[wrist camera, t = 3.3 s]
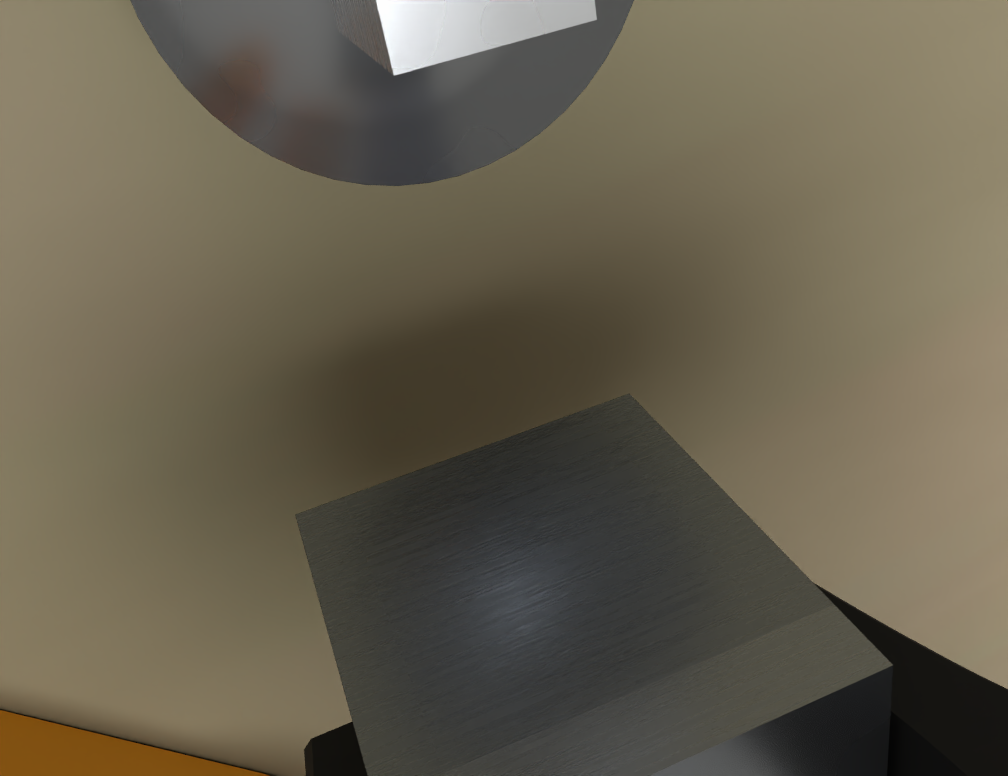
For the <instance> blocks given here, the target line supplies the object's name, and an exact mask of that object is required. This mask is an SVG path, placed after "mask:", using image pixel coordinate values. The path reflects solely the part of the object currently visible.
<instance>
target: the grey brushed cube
mask: <svg viewBox="0 0 1008 776" xmlns="http://www.w3.org/2000/svg"><path fill="white" fill-rule="evenodd" d="M295 516H296V519H297V523H298V526H299V530H300V534H301V537H302V541H303V544H304V548H305V552H306V555H307V559H308V562H309V566H310V570H311V573H312V577H313V580H314V584H315V588H316V591H317V595H318V598H319V602H320V606H321V609H322V613H323V616H324V620H325V624H326V627H327V631H328V634H329V638H330V642H331V645H332V649H333V652H334V656H335V660H336V663H337V667H338V670H339V674H340V678H341V681H342V685H343V688H344V692H345V696H346V699H347V703H348V706H349V710H350V714H351V717H352V721H353V724H354V728H355V732H356V735H357V739H358V743H359V746H360V750H361V753H362V757H363V761H364V764H365V768H366V771H367V775H368V776H887V766H888V748H889V731H890V713H891V695H892V677H893V665H892V663H891V662H890V661H889V660H888V659H887V658H886V657H885V656H884V655H883V654H882V653H881V652H880V651H879V650H878V649H877V648H876V647H875V646H874V645H873V644H872V643H871V642H870V641H869V640H868V639H867V638H866V637H865V636H864V635H863V634H862V633H861V632H860V631H859V630H858V629H857V627H856V626H855V625H854V624H853V623H852V622H851V621H850V620H849V619H848V618H847V617H846V616H845V615H844V614H843V613H842V612H841V611H840V610H839V609H838V608H837V607H836V606H835V605H834V604H833V603H832V602H831V601H830V600H829V599H828V598H827V597H826V596H825V595H824V594H823V592H822V591H821V590H820V589H819V588H818V587H817V586H816V585H815V584H814V583H813V582H812V581H811V580H810V579H809V578H808V577H807V576H806V575H805V574H804V573H803V572H802V571H801V570H800V569H799V568H798V567H797V566H796V565H795V564H794V563H793V562H792V561H791V560H790V559H789V558H788V556H787V555H786V554H785V553H784V552H783V551H782V550H781V549H780V548H779V547H778V546H777V545H776V544H775V543H774V542H773V541H772V540H771V539H770V538H769V537H768V536H767V535H766V534H765V533H764V532H763V531H762V530H761V529H760V528H759V527H758V526H757V525H756V524H755V523H754V522H753V520H752V519H751V518H750V517H749V516H748V515H747V514H746V513H745V512H744V511H743V510H742V509H741V508H740V507H739V506H738V505H737V504H736V503H735V502H734V501H733V500H732V499H731V498H730V497H729V496H728V495H727V494H726V493H725V492H724V491H723V490H722V489H721V488H720V487H719V485H718V484H717V483H716V482H715V481H714V480H713V479H712V478H711V477H710V476H709V475H708V474H707V473H706V472H705V471H704V470H703V469H702V468H701V467H700V466H699V465H698V464H697V463H696V462H695V461H694V460H693V459H692V458H691V457H690V456H689V455H688V454H687V453H686V452H685V451H684V449H683V448H682V447H681V446H680V445H679V444H678V443H677V442H676V441H675V440H674V439H673V438H672V437H671V436H670V435H669V434H668V433H667V432H666V431H665V430H664V429H663V428H662V427H661V426H660V425H659V424H658V423H657V422H656V421H655V420H654V419H653V418H652V417H651V416H650V415H649V413H648V412H647V411H646V410H645V409H644V408H643V407H642V406H641V405H640V404H639V403H638V402H637V401H636V400H635V399H634V398H633V397H632V396H631V395H630V394H627V395H624V396H621V397H619V398H616V399H613V400H610V401H607V402H605V403H602V404H599V405H596V406H594V407H591V408H588V409H585V410H583V411H580V412H577V413H574V414H572V415H569V416H566V417H563V418H561V419H558V420H555V421H552V422H550V423H547V424H544V425H541V426H539V427H536V428H533V429H530V430H527V431H525V432H522V433H519V434H516V435H514V436H511V437H508V438H505V439H503V440H500V441H497V442H494V443H492V444H489V445H486V446H483V447H481V448H478V449H475V450H472V451H470V452H467V453H464V454H461V455H458V456H456V457H453V458H450V459H447V460H445V461H442V462H439V463H436V464H434V465H431V466H428V467H425V468H423V469H420V470H417V471H414V472H412V473H409V474H406V475H403V476H401V477H398V478H395V479H392V480H390V481H387V482H384V483H381V484H378V485H376V486H373V487H370V488H367V489H365V490H362V491H359V492H356V493H354V494H351V495H348V496H345V497H343V498H340V499H337V500H334V501H332V502H329V503H326V504H323V505H321V506H318V507H315V508H312V509H310V510H307V511H304V512H301V513H298V514H296V515H295Z"/></svg>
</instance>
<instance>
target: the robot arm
mask: <svg viewBox="0 0 1008 776" xmlns="http://www.w3.org/2000/svg"><path fill="white" fill-rule="evenodd" d="M814 584H815V583H814ZM815 585H816V584H815ZM816 586H817V587H818V588H819V589H820V590H821V591H822V592H823V594H824V595H825V596H826V597H827V598H828V599H829V600H830V601H831V602H832V603H833V604H834V605H835V606H836V607H837V608H838V609H839V610H840V611H841V612H842V613H843V614H844V615H845V616H846V617H847V618H848V619H849V620H850V621H851V622H852V623H853V624H854V625H855V626H856V627H857V629H858V630H859V631H860V632H861V633H862V634H863V635H864V636H865V637H866V638H867V639H868V640H869V641H870V642H871V643H872V644H873V645H874V646H875V647H876V648H877V649H878V650H879V651H880V652H881V653H882V654H883V655H884V656H885V657H886V658H887V659H888V660H889V661H890V662H891V663H892V665H893V677H892V695H891V713H890V731H889V748H888V766H887V776H1008V689H1006V688H1004V687H1002V686H1000V685H998V684H996V683H994V682H992V681H990V680H988V679H986V678H984V677H981V676H980V675H978V674H976V673H974V672H972V671H970V670H968V669H966V668H964V667H962V666H960V665H958V664H956V663H954V662H952V661H950V660H949V659H947V658H945V657H943V656H941V655H939V654H938V653H936V652H934V651H932V650H930V649H928V648H927V647H925V646H923V645H921V644H919V643H917V642H916V641H914V640H912V639H910V638H908V637H906V636H905V635H903V634H901V633H899V632H897V631H895V630H894V629H892V628H890V627H888V626H887V625H885V624H883V623H881V622H879V621H878V620H876V619H874V618H872V617H871V616H869V615H867V614H866V613H864V612H862V611H860V610H859V609H857V608H855V607H854V606H852V605H850V604H848V603H847V602H845V601H843V600H842V599H840V598H838V597H836V596H835V595H833V594H831V593H830V592H828V591H826V590H825V589H823V588H821V587H820V586H818V585H816ZM304 754H305V768H306V776H368V775H367V771H366V768H365V764H364V761H363V757H362V753H361V750H360V746H359V743H358V739H357V735H356V732H355V728H354V724H353V722H351V723H348V724H346V725H343V726H341V727H339V728H336V729H334V730H331V731H329V732H326V733H324V734H322V735H319V736H317V737H314V738H312V739H311V740H310V741H309V743H308V745H307V746H306V748H305V749H304Z"/></svg>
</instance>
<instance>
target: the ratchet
mask: <svg viewBox="0 0 1008 776" xmlns="http://www.w3.org/2000/svg"><path fill="white" fill-rule="evenodd" d="M633 1H634V0H131V2H132V5H133V7H134V9H135V12H136V14H137V16H138V18H139V20H140V22H141V23H142V25H143V27H144V29H145V30H146V32H147V34H148V35H149V37H150V39H151V40H152V42H153V44H154V45H155V47H156V49H157V51H158V52H159V54H160V55H161V57H162V58H163V59H164V61H165V62H166V63H167V64H168V66H169V67H170V68H171V70H172V71H173V72H174V74H175V75H176V76H177V78H178V79H179V80H180V81H181V83H182V84H183V85H184V87H185V88H186V89H187V90H188V91H189V92H190V93H191V94H192V95H193V96H194V97H195V98H196V99H197V100H198V101H199V102H200V103H201V104H202V105H203V106H204V107H205V108H206V109H207V110H208V111H209V112H210V113H211V114H212V115H213V116H214V117H216V118H217V119H218V120H219V121H221V122H222V123H223V124H224V125H226V126H227V127H228V128H229V129H231V130H232V131H233V132H234V133H236V134H237V135H238V136H239V137H241V138H243V139H244V140H246V141H247V142H249V143H251V144H252V145H254V146H256V147H257V148H259V149H260V150H262V151H264V152H265V153H267V154H269V155H270V156H272V157H275V158H277V159H279V160H281V161H283V162H286V163H288V164H290V165H292V166H295V167H297V168H299V169H301V170H304V171H307V172H311V173H314V174H317V175H321V176H324V177H327V178H331V179H334V180H340V181H346V182H352V183H358V184H364V185H387V186H401V185H411V184H422V183H430V182H434V181H439V180H443V179H447V178H451V177H456V176H460V175H462V174H465V173H468V172H470V171H473V170H476V169H478V168H481V167H484V166H486V165H489V164H491V163H492V162H494V161H496V160H498V159H500V158H502V157H504V156H506V155H508V154H510V153H511V152H513V151H515V150H517V149H518V148H520V147H521V146H522V145H524V144H525V143H527V142H528V141H530V140H531V139H532V138H534V137H535V136H537V135H538V134H540V133H541V132H542V131H543V130H544V129H546V128H547V127H548V126H549V125H550V124H551V123H552V122H553V121H554V120H556V119H557V118H558V117H559V116H560V115H561V114H562V113H563V112H565V110H566V109H567V108H568V107H569V106H570V105H571V104H572V103H573V101H574V100H575V99H576V98H577V97H578V96H579V95H580V94H581V92H582V91H583V90H584V89H585V88H586V87H587V85H588V84H589V82H590V81H591V80H592V78H593V77H594V75H595V74H596V72H597V71H598V70H599V68H600V67H601V65H602V64H603V62H604V61H605V59H606V58H607V56H608V54H609V52H610V50H611V48H612V47H613V45H614V43H615V41H616V39H617V37H618V36H619V34H620V32H621V30H622V28H623V25H624V23H625V20H626V18H627V16H628V13H629V11H630V8H631V6H632V3H633Z"/></svg>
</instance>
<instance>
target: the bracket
mask: <svg viewBox="0 0 1008 776" xmlns="http://www.w3.org/2000/svg"><path fill="white" fill-rule="evenodd" d="M0 776H269V775H266V774H262V773H258V772H254V771H250V770H246V769H242V768H238V767H233V766H229V765H225V764H221V763H217V762H213V761H209V760H204V759H200V758H196V757H192V756H188V755H184V754H180V753H176V752H171V751H167V750H163V749H159V748H155V747H151V746H147V745H142V744H138V743H134V742H130V741H126V740H122V739H118V738H114V737H109V736H105V735H101V734H97V733H93V732H89V731H85V730H80V729H76V728H72V727H68V726H64V725H60V724H56V723H52V722H47V721H43V720H39V719H35V718H31V717H27V716H23V715H18V714H14V713H10V712H6V711H2V710H0Z"/></svg>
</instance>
